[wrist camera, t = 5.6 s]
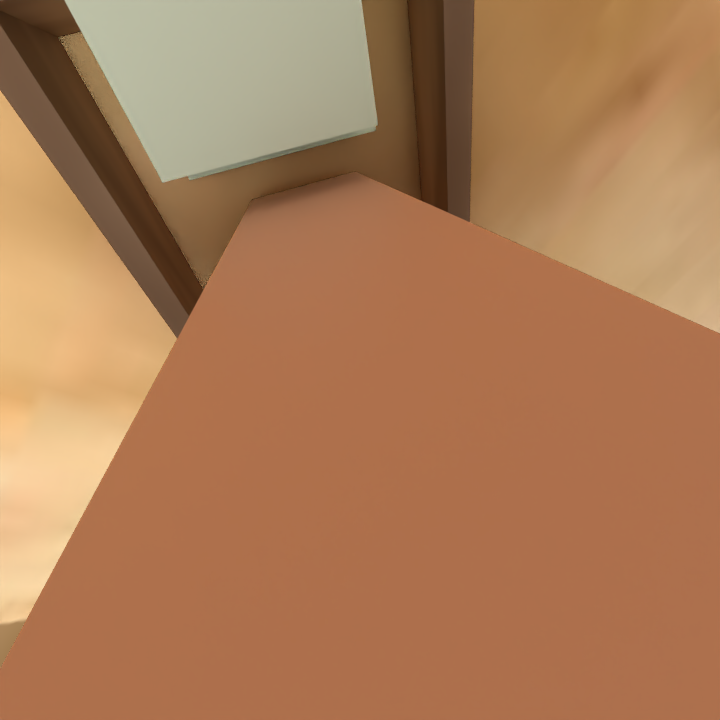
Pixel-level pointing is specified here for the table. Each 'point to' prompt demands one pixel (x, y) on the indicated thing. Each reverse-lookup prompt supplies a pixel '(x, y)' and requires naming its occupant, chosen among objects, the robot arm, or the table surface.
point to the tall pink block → (397, 492)
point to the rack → (120, 182)
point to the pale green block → (232, 76)
